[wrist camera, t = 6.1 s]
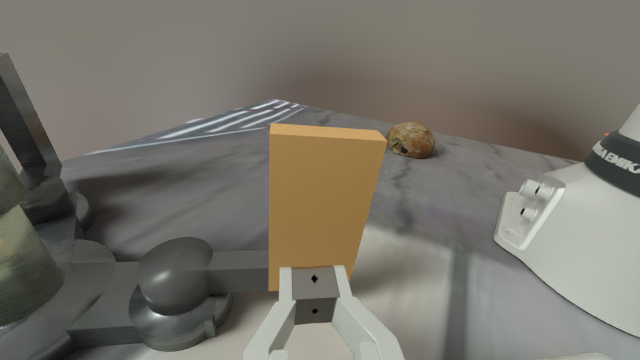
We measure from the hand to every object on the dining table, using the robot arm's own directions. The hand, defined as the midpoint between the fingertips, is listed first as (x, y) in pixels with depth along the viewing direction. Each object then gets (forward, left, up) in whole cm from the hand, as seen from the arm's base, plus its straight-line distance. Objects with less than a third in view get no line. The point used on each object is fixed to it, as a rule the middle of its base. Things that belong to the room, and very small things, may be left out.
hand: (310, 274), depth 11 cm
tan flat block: (-2, -5, -7) cm, 9 cm away
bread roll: (-47, -1, -9) cm, 48 cm away
